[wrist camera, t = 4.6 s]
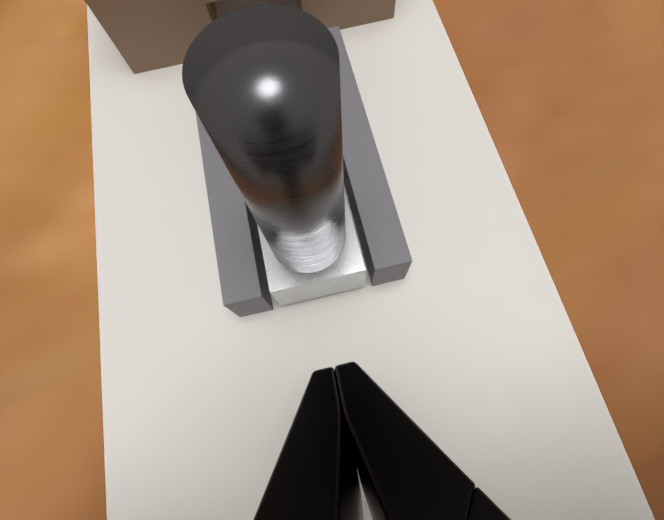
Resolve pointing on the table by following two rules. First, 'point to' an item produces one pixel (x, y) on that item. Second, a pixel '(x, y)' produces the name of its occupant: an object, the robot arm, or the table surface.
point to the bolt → (281, 141)
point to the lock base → (336, 309)
